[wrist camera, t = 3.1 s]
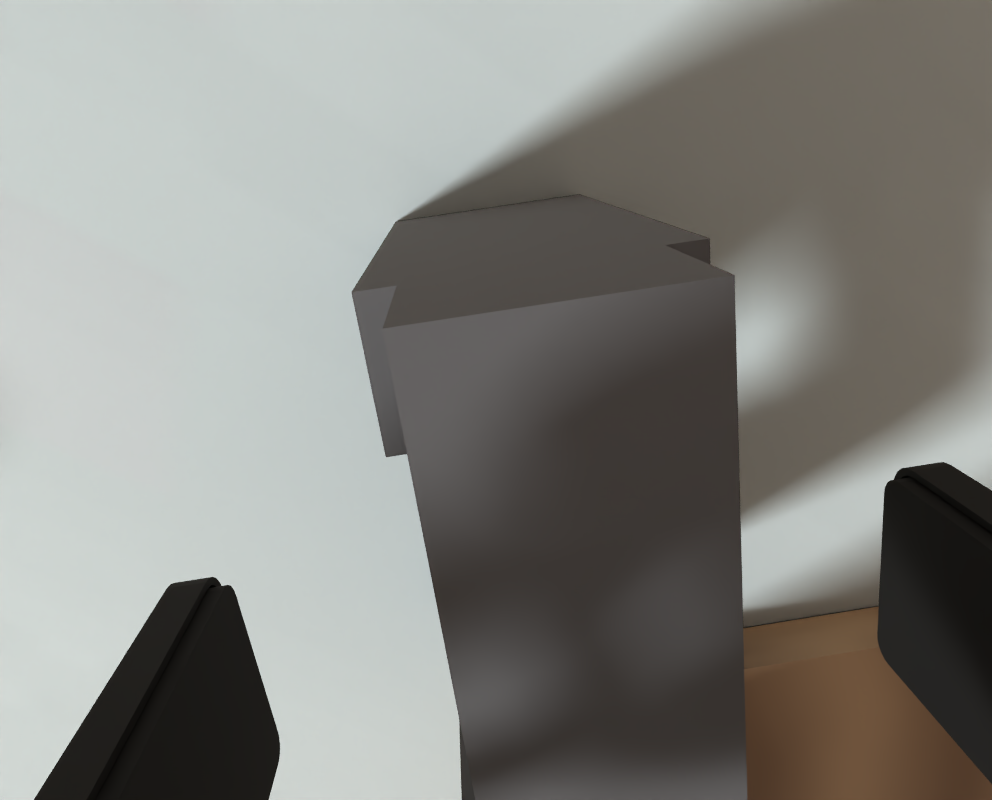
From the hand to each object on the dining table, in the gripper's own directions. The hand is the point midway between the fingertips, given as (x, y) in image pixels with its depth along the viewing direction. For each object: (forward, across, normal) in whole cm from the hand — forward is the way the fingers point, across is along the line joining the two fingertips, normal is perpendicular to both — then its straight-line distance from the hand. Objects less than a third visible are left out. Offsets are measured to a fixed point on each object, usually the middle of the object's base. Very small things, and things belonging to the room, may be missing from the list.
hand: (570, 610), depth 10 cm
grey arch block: (+7, 0, 0) cm, 7 cm away
